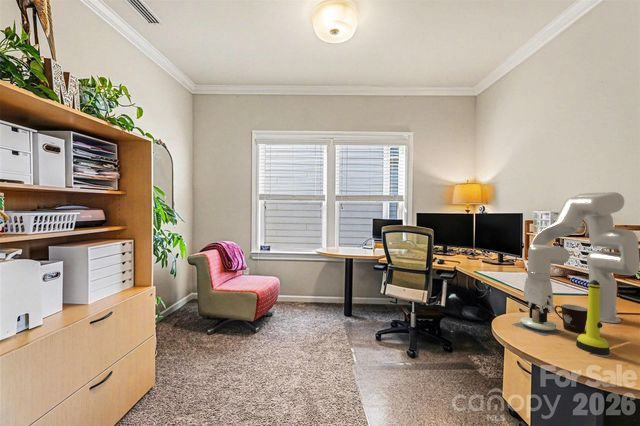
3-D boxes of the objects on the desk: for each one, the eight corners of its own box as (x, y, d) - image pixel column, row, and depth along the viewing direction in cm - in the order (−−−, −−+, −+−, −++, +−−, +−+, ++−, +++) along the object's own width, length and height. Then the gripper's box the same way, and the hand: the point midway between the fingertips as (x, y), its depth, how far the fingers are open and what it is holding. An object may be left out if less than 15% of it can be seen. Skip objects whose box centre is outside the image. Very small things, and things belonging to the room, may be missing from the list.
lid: (531, 317, 132) (531, 304, 132) (562, 327, 121) (563, 312, 121) (514, 321, 127) (514, 307, 127) (545, 332, 116) (545, 316, 116)
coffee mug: (593, 337, 117) (594, 311, 117) (568, 334, 119) (569, 309, 119) (574, 326, 129) (575, 303, 129) (551, 324, 131) (552, 301, 130)
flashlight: (572, 278, 107) (604, 283, 99) (586, 276, 111) (617, 282, 103) (570, 347, 108) (601, 358, 99) (584, 343, 111) (615, 354, 103)
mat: (530, 321, 133) (530, 320, 133) (563, 332, 121) (563, 331, 121) (511, 325, 127) (511, 324, 127) (544, 337, 116) (544, 336, 116)
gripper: (515, 272, 132) (514, 313, 132) (548, 281, 115) (547, 328, 116) (530, 271, 133) (529, 312, 133) (565, 280, 116) (564, 327, 116)
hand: (538, 319), depth 124 cm, fingers closed on lid, 4 cm apart
